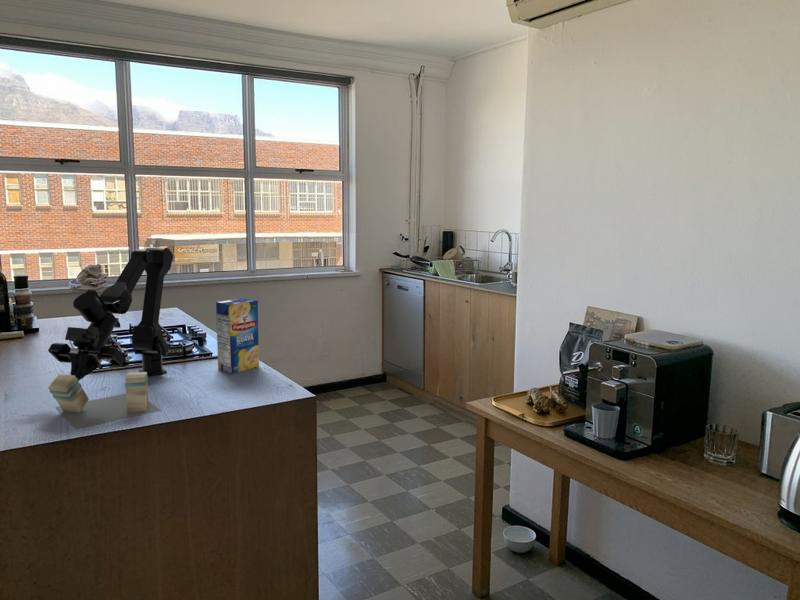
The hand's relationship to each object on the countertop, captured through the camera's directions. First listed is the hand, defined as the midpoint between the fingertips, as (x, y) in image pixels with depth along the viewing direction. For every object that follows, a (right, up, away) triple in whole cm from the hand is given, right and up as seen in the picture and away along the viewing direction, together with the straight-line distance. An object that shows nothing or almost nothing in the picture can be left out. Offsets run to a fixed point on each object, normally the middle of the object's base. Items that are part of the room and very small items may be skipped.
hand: (72, 382), depth 153 cm
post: (+15, -7, +4) cm, 17 cm away
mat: (+7, -7, +3) cm, 11 cm away
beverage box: (+31, -1, +42) cm, 52 cm away
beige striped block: (0, -6, +2) cm, 6 cm away
